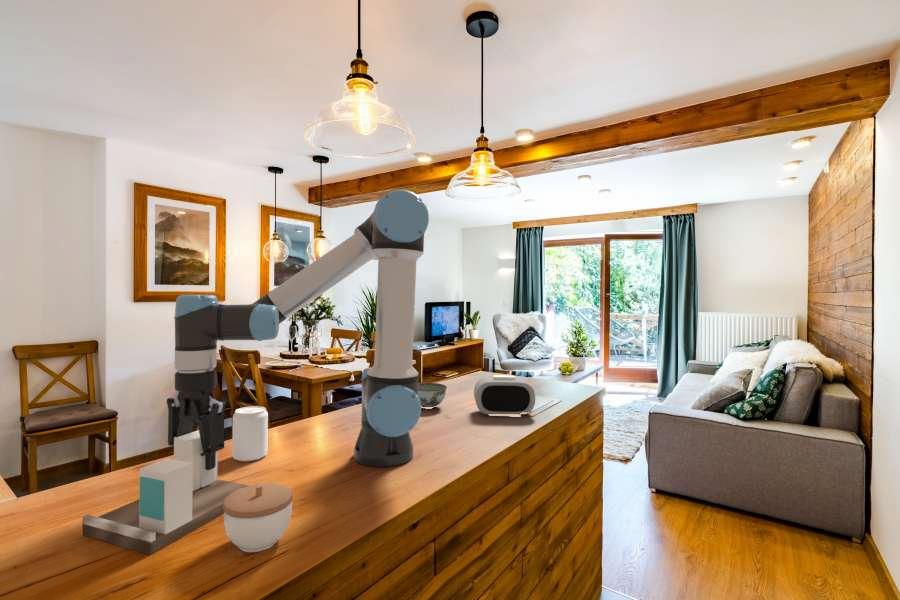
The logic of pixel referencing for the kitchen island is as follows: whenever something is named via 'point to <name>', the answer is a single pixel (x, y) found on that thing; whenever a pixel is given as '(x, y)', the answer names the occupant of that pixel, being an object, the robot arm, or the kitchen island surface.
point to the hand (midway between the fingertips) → (195, 482)
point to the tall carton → (191, 454)
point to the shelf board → (126, 532)
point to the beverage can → (250, 433)
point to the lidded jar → (257, 515)
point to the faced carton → (165, 495)
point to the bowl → (431, 394)
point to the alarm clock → (504, 395)
